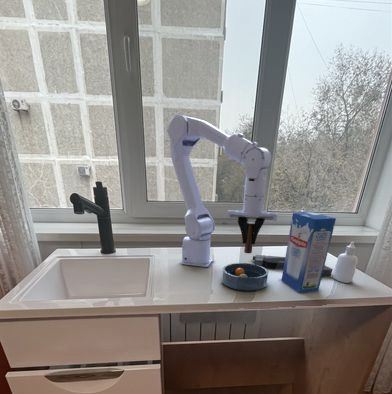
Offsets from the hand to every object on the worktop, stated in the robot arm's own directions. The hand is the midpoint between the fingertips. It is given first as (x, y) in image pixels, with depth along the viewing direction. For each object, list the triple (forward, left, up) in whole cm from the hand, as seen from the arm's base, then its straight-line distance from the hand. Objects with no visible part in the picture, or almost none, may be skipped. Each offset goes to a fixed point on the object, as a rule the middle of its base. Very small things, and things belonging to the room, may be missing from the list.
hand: (249, 243), depth 89 cm
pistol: (+14, +10, -10) cm, 20 cm away
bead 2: (0, -11, -8) cm, 13 cm away
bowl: (+1, -9, -10) cm, 13 cm away
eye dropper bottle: (+30, +4, -10) cm, 32 cm away
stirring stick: (0, 0, -3) cm, 3 cm away
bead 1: (-1, -6, -8) cm, 10 cm away
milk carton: (+17, -5, -10) cm, 20 cm away
